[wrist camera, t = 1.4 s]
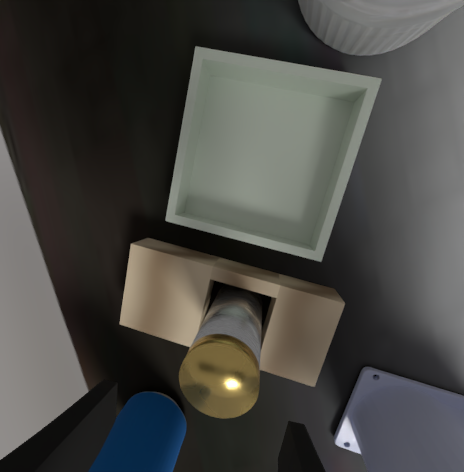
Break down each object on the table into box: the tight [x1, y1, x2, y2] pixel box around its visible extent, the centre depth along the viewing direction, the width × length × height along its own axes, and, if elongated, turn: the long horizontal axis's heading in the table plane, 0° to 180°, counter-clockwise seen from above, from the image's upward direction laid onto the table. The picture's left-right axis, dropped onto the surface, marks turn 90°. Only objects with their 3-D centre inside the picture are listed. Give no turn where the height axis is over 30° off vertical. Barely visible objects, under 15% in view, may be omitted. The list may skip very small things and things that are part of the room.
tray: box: [165, 46, 382, 262], centre depth 16 cm, size 11×11×3 cm
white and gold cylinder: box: [179, 284, 262, 418], centre depth 15 cm, size 4×4×8 cm
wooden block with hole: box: [119, 238, 345, 387], centre depth 18 cm, size 16×7×2 cm, turn 77°
